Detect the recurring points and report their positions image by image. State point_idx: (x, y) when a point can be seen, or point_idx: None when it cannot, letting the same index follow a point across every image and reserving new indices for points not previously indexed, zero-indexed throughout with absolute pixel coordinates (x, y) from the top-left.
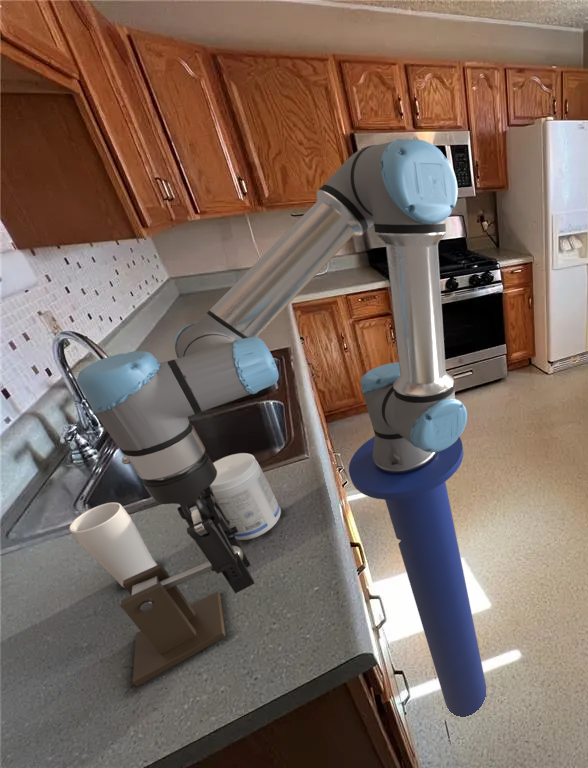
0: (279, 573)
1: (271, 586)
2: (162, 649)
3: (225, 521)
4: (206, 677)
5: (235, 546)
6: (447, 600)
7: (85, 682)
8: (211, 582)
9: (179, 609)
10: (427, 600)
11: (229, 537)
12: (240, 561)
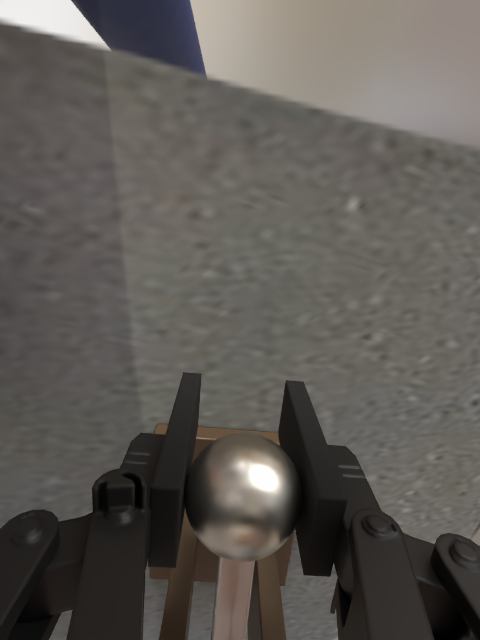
0: (197, 279)
1: (231, 311)
2: None
3: (91, 615)
4: (376, 476)
5: (231, 485)
6: (185, 3)
7: (194, 626)
8: (86, 433)
9: (264, 581)
10: (165, 35)
11: (149, 511)
12: (336, 471)
